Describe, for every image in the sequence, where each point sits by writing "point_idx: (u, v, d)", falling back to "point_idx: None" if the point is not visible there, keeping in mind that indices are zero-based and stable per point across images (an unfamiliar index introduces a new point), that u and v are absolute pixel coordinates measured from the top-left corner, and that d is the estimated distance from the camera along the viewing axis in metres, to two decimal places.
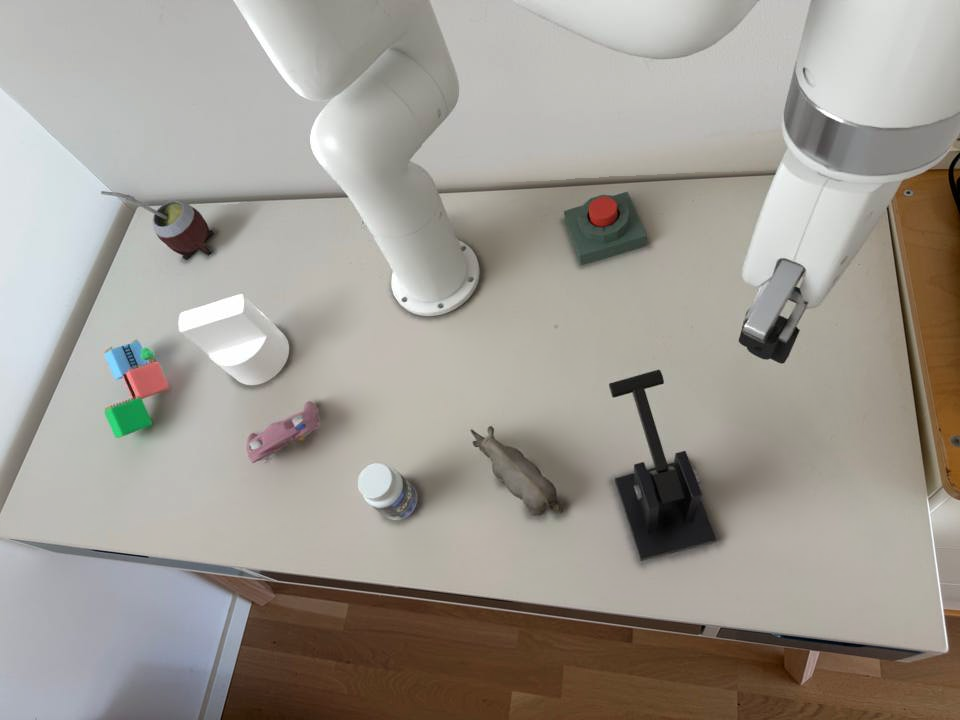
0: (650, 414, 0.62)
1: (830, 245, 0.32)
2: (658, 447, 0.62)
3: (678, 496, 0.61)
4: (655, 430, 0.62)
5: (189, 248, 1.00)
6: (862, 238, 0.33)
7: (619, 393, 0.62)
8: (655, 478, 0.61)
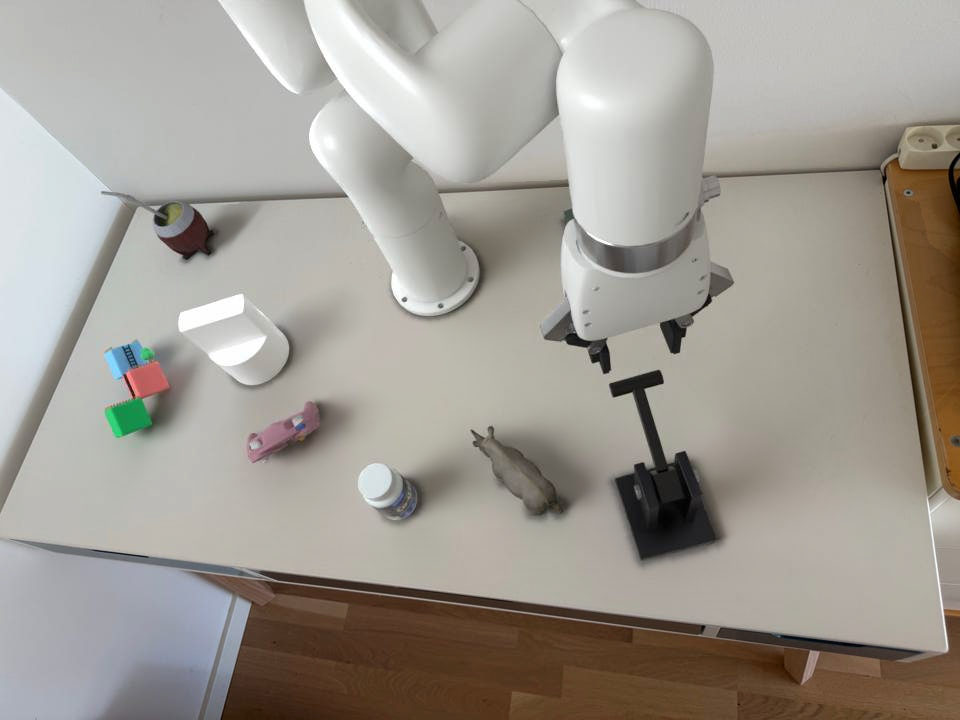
0: (650, 414, 0.62)
1: (573, 294, 0.45)
2: (658, 447, 0.62)
3: (678, 496, 0.61)
4: (655, 430, 0.62)
5: (189, 248, 1.00)
6: (606, 306, 0.45)
7: (619, 393, 0.62)
8: (655, 478, 0.61)
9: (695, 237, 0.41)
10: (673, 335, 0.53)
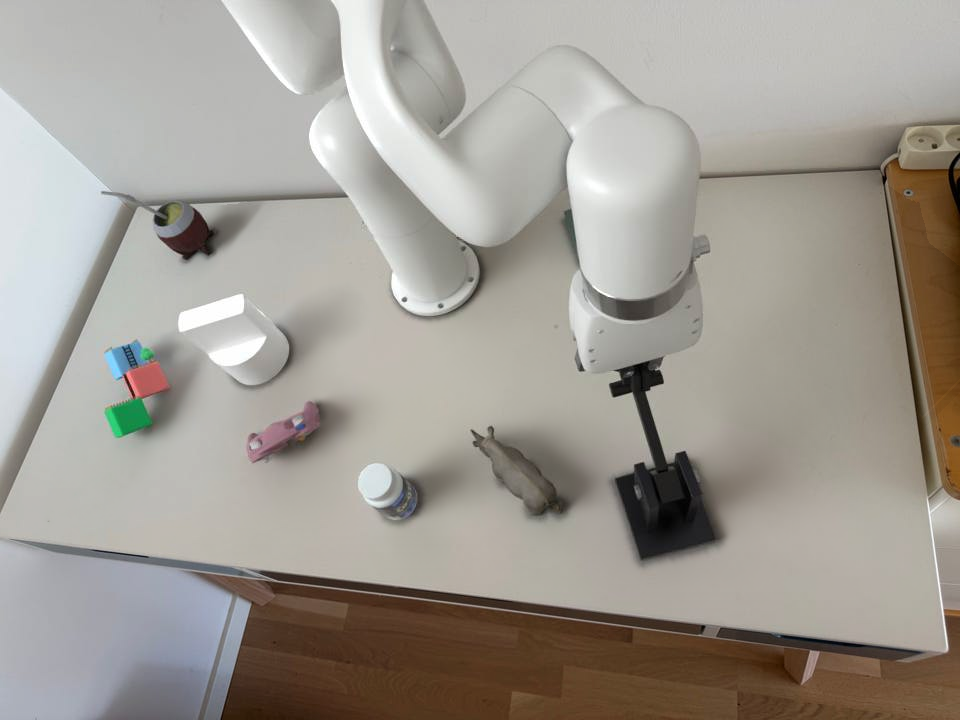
0: (650, 414, 0.62)
1: (580, 335, 0.50)
2: (658, 447, 0.62)
3: (678, 496, 0.61)
4: (655, 430, 0.62)
5: (189, 248, 1.00)
6: (609, 345, 0.50)
7: (619, 393, 0.62)
8: (655, 478, 0.61)
9: (688, 288, 0.46)
10: (642, 376, 0.58)
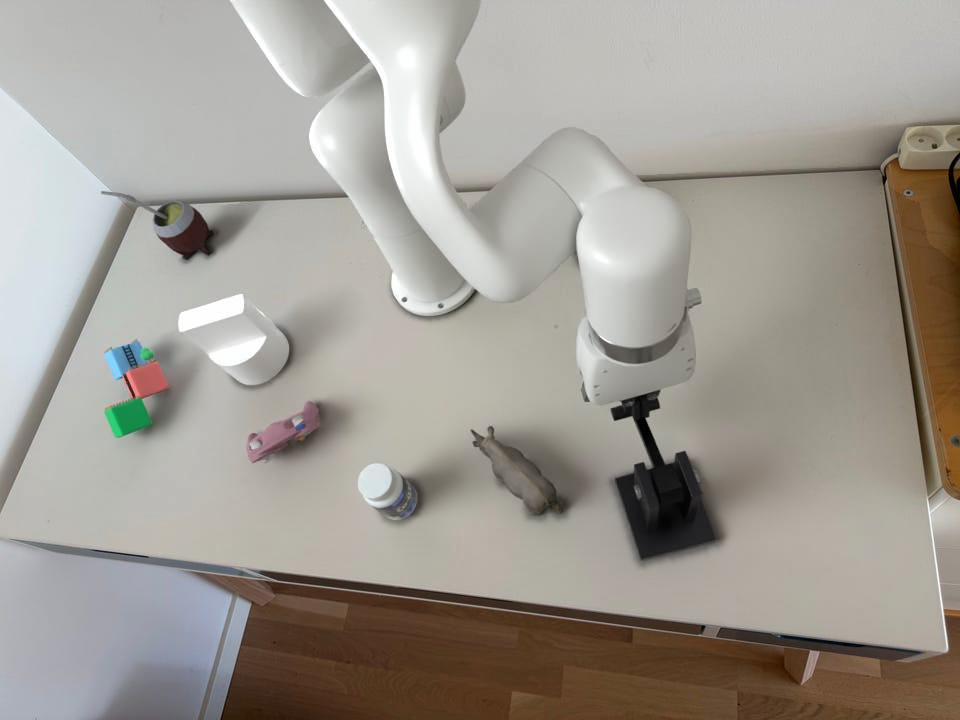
0: (647, 426, 0.67)
1: (587, 373, 0.56)
2: (656, 451, 0.64)
3: (675, 485, 0.60)
4: (652, 438, 0.65)
5: (189, 248, 1.00)
6: (612, 382, 0.56)
7: (618, 413, 0.69)
8: (652, 471, 0.62)
9: (682, 334, 0.52)
10: (642, 405, 0.65)
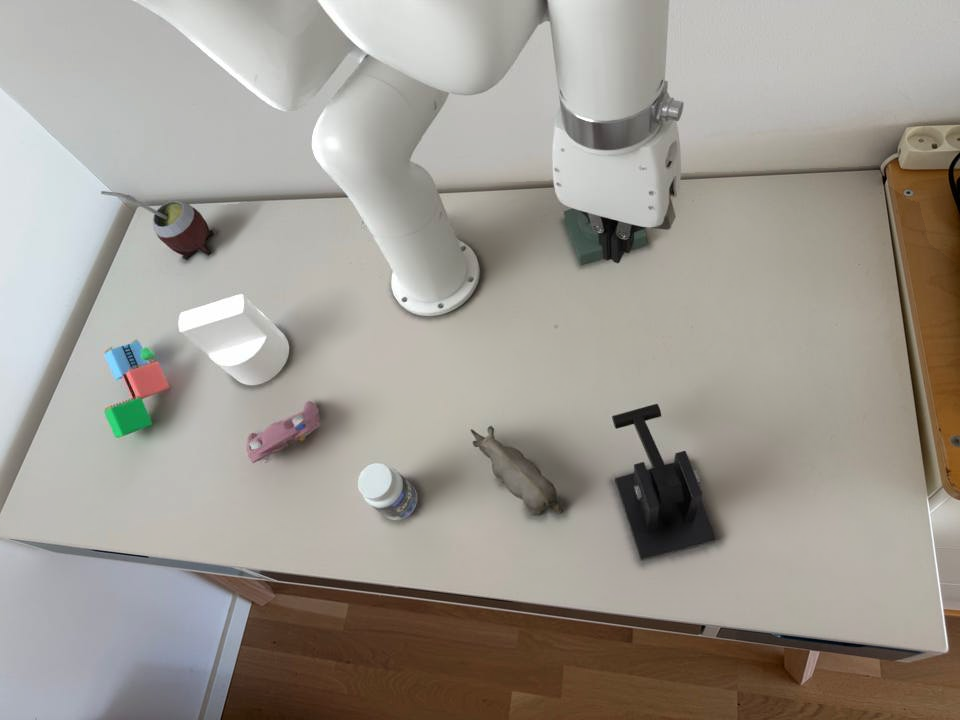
0: (648, 431, 0.67)
1: (552, 149, 0.54)
2: (656, 453, 0.65)
3: (675, 483, 0.60)
4: (652, 442, 0.66)
5: (189, 248, 1.00)
6: (570, 172, 0.54)
7: (620, 420, 0.70)
8: (651, 471, 0.62)
9: (644, 145, 0.48)
10: (611, 240, 0.61)
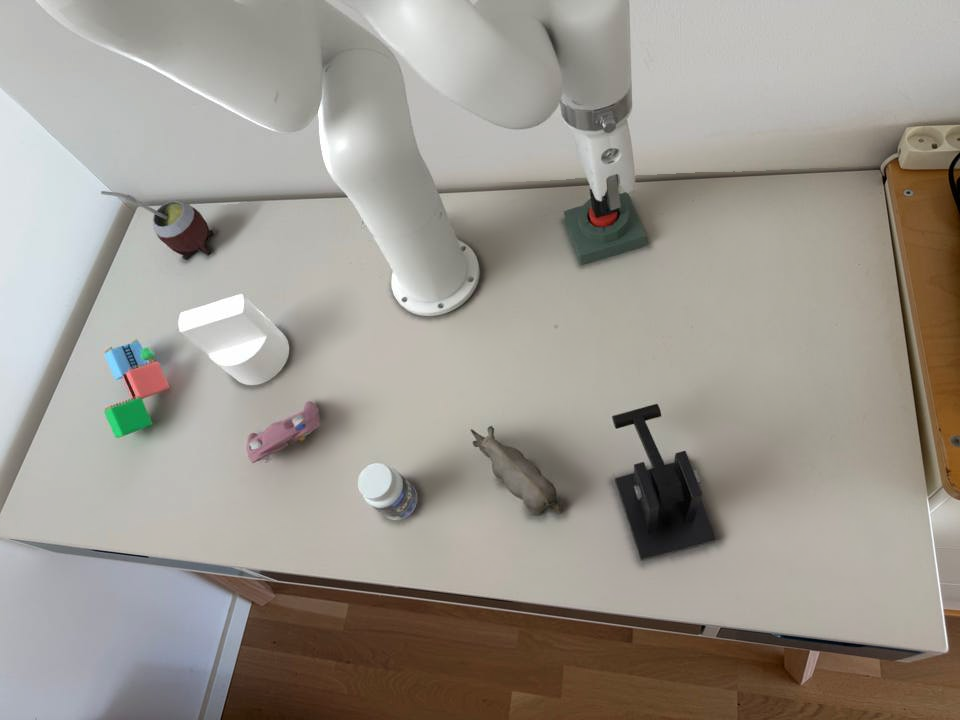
0: (648, 431, 0.67)
1: None
2: (656, 453, 0.65)
3: (675, 483, 0.60)
4: (652, 442, 0.66)
5: (189, 248, 1.00)
6: None
7: (620, 420, 0.70)
8: (651, 471, 0.62)
9: (587, 135, 0.69)
10: None
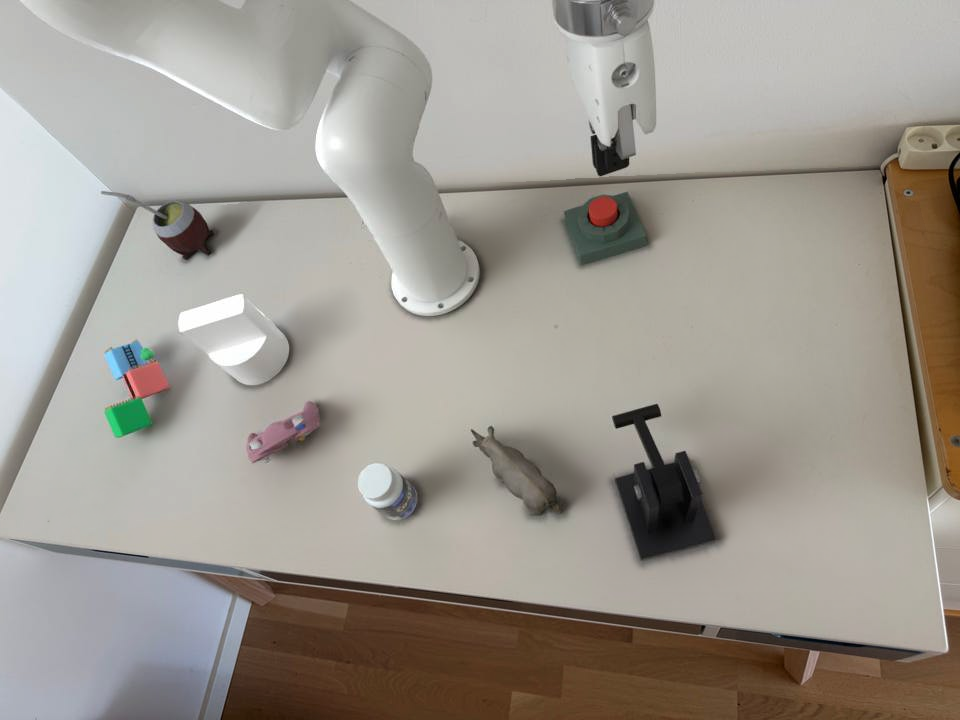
0: (648, 431, 0.67)
1: None
2: (656, 453, 0.65)
3: (675, 483, 0.60)
4: (652, 442, 0.66)
5: (189, 248, 1.00)
6: (568, 46, 0.55)
7: (620, 420, 0.70)
8: (651, 471, 0.62)
9: (592, 43, 0.48)
10: None
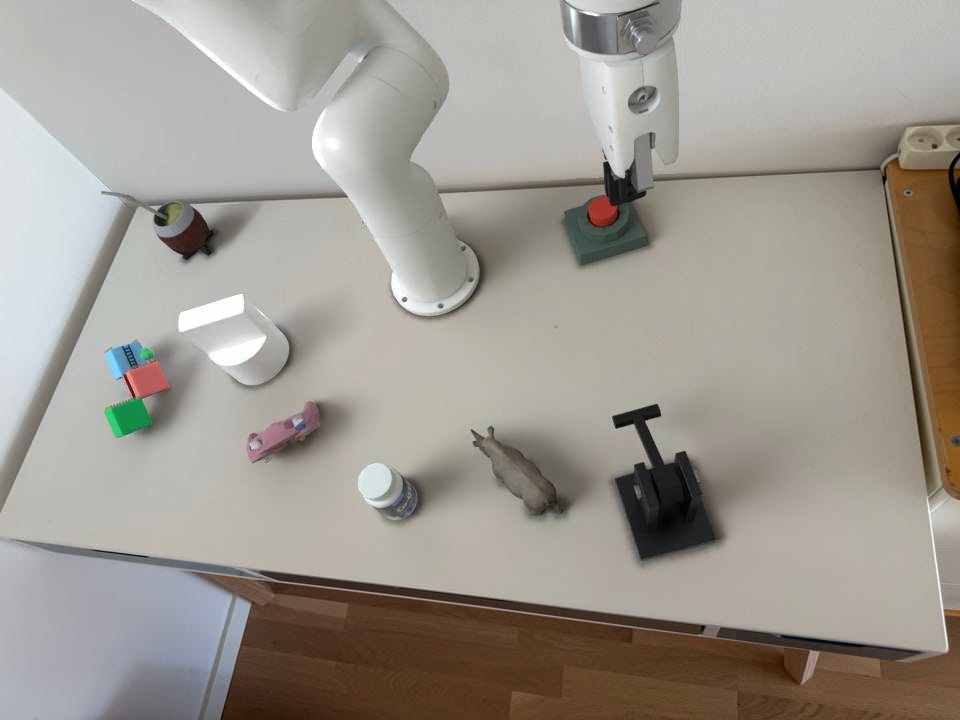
0: (648, 431, 0.67)
1: None
2: (656, 453, 0.65)
3: (675, 483, 0.60)
4: (652, 442, 0.66)
5: (189, 248, 1.00)
6: (579, 62, 0.48)
7: (620, 420, 0.70)
8: (651, 471, 0.62)
9: (606, 63, 0.41)
10: None
